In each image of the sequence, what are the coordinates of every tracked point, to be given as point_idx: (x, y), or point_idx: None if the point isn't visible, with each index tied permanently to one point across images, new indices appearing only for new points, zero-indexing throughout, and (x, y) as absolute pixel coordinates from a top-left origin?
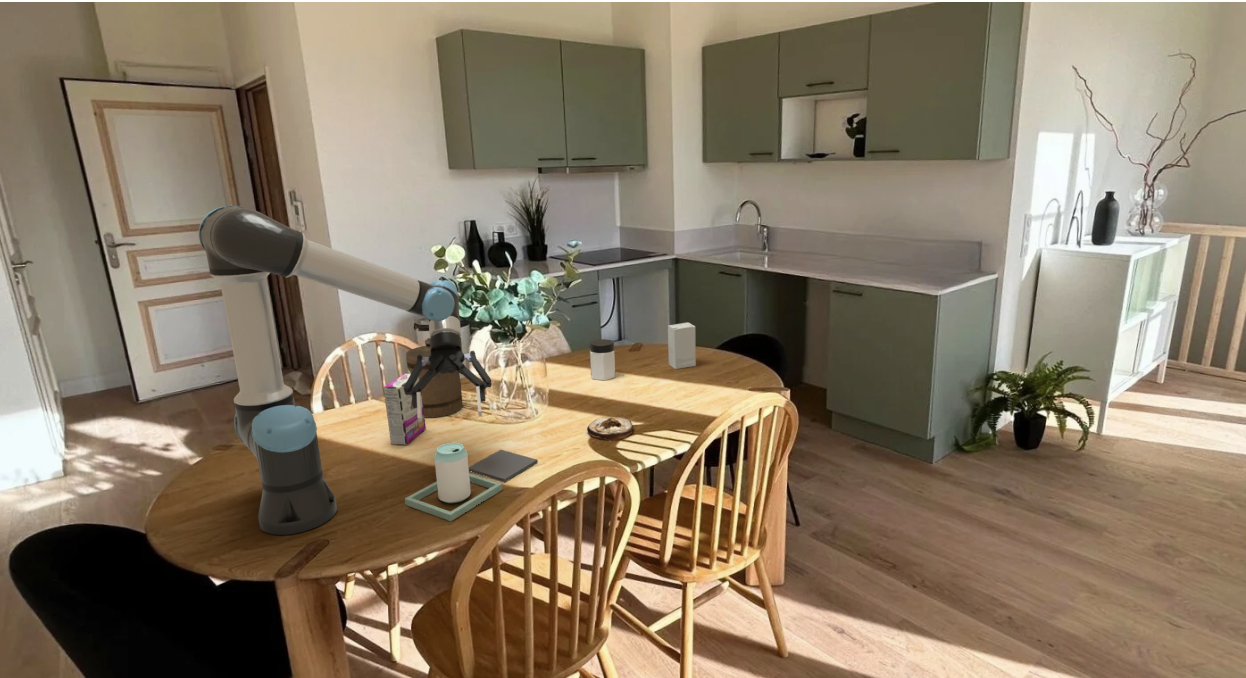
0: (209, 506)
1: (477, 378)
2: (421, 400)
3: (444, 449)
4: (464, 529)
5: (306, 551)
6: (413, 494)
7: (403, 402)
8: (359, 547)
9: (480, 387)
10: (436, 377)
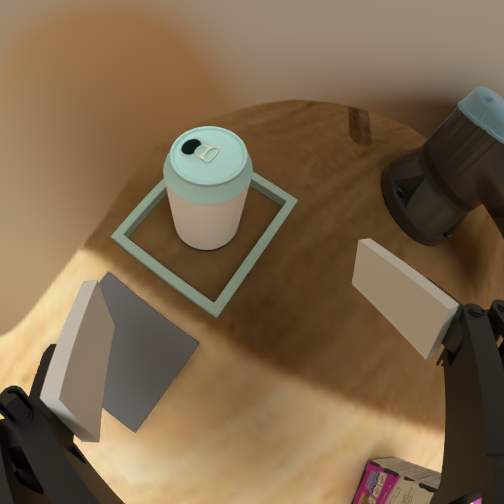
0: (491, 244)
1: (39, 466)
2: None
3: (225, 154)
4: (179, 131)
5: (363, 128)
6: (287, 212)
7: (426, 497)
8: (310, 119)
9: (46, 411)
10: None
